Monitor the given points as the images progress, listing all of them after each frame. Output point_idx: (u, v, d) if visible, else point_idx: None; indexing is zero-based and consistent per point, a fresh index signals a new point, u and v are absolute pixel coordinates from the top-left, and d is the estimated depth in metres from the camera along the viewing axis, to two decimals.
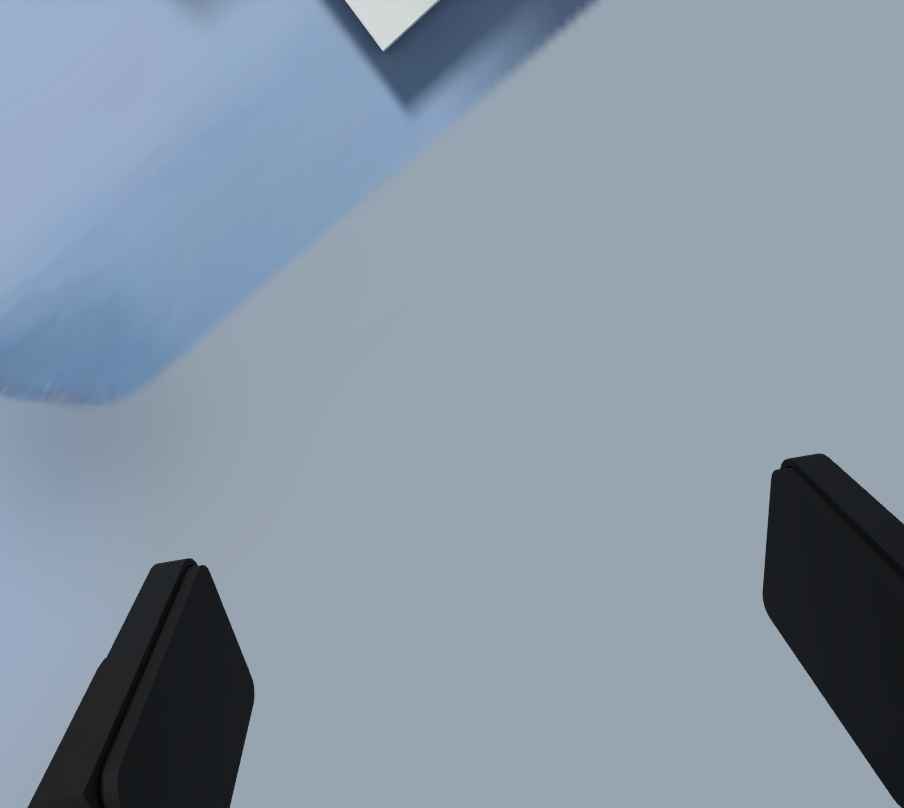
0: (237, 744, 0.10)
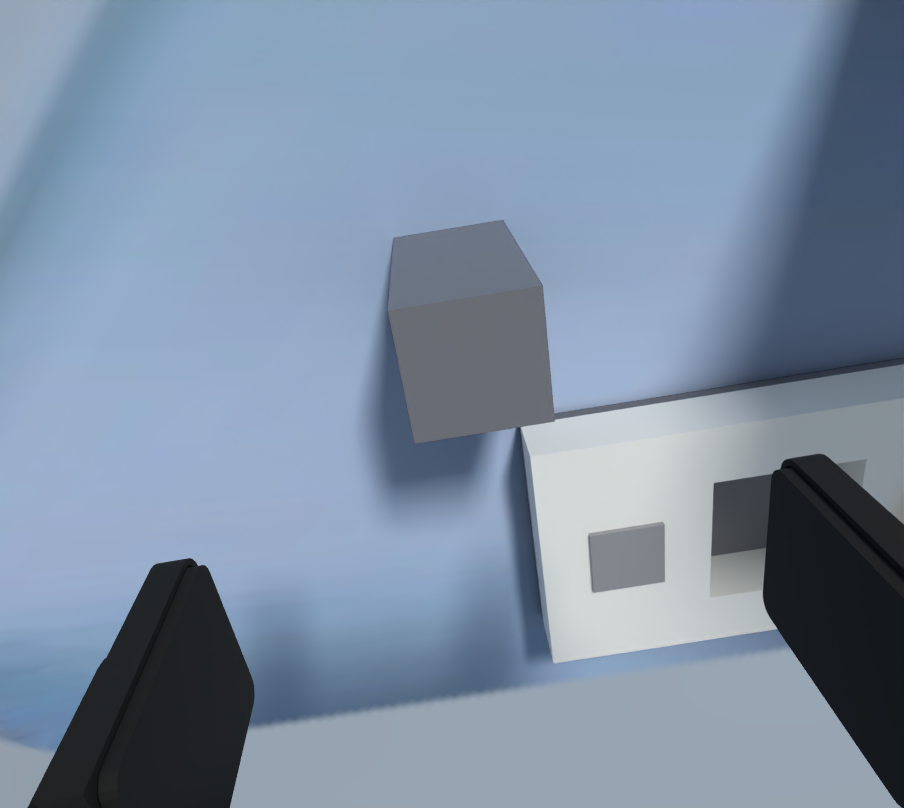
0: (237, 744, 0.10)
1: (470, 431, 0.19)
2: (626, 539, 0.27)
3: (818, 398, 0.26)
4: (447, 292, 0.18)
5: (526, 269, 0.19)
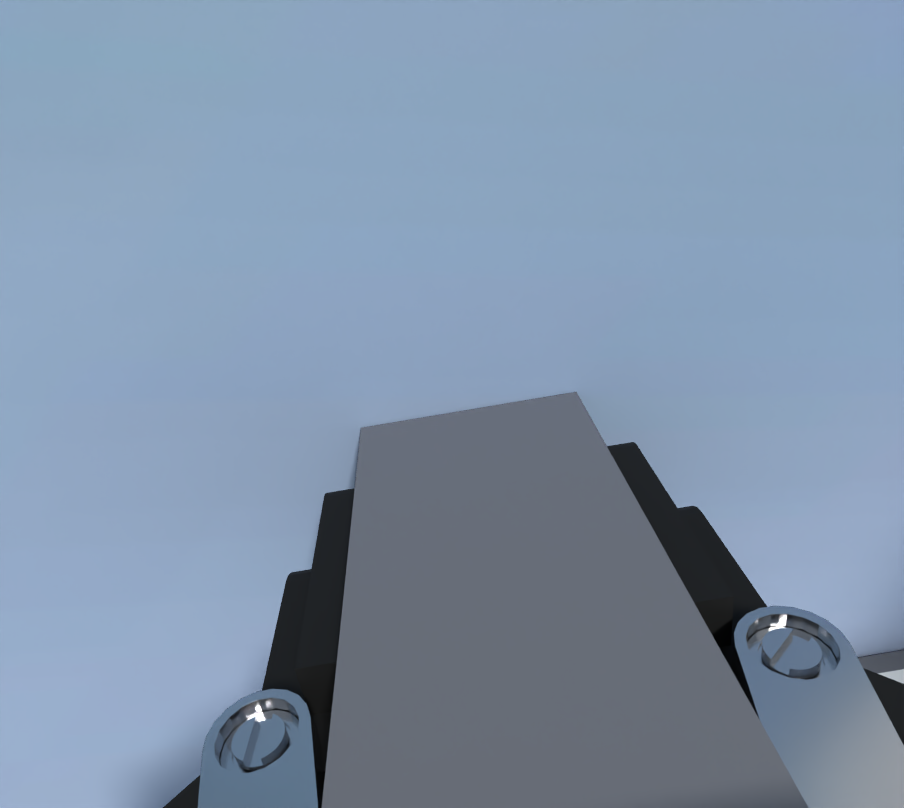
0: None
1: None
2: None
3: None
4: (499, 797, 0.06)
5: (715, 674, 0.07)
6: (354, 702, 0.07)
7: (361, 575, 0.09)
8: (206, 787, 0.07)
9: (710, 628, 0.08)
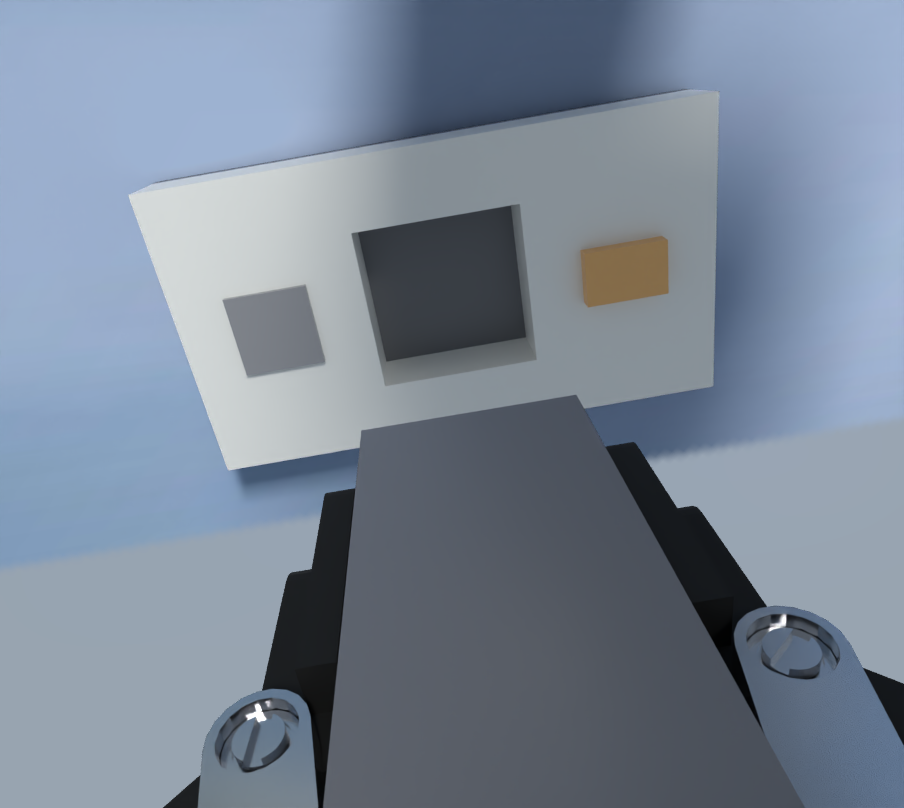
0: None
1: None
2: (265, 305, 0.24)
3: (461, 133, 0.23)
4: (499, 801, 0.06)
5: (714, 678, 0.07)
6: (355, 705, 0.07)
7: (362, 578, 0.09)
8: (206, 787, 0.07)
9: (710, 628, 0.08)
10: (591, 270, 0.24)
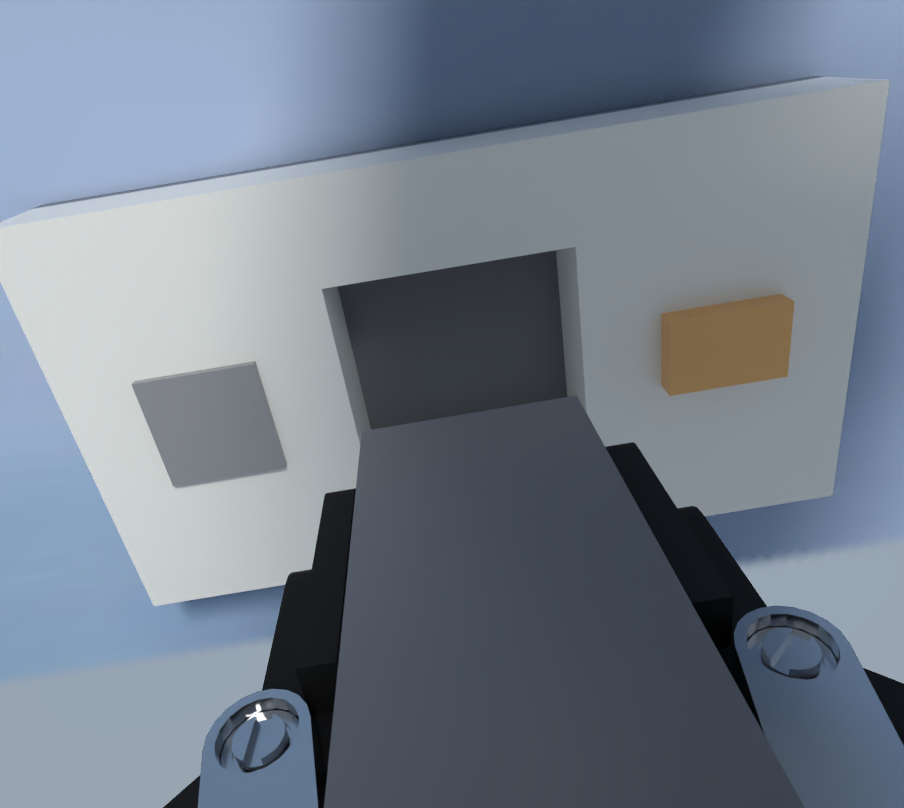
0: None
1: None
2: (196, 391, 0.16)
3: (489, 140, 0.15)
4: (500, 803, 0.06)
5: (715, 680, 0.07)
6: (356, 707, 0.07)
7: (362, 579, 0.09)
8: (206, 787, 0.07)
9: (710, 628, 0.08)
10: (678, 345, 0.16)
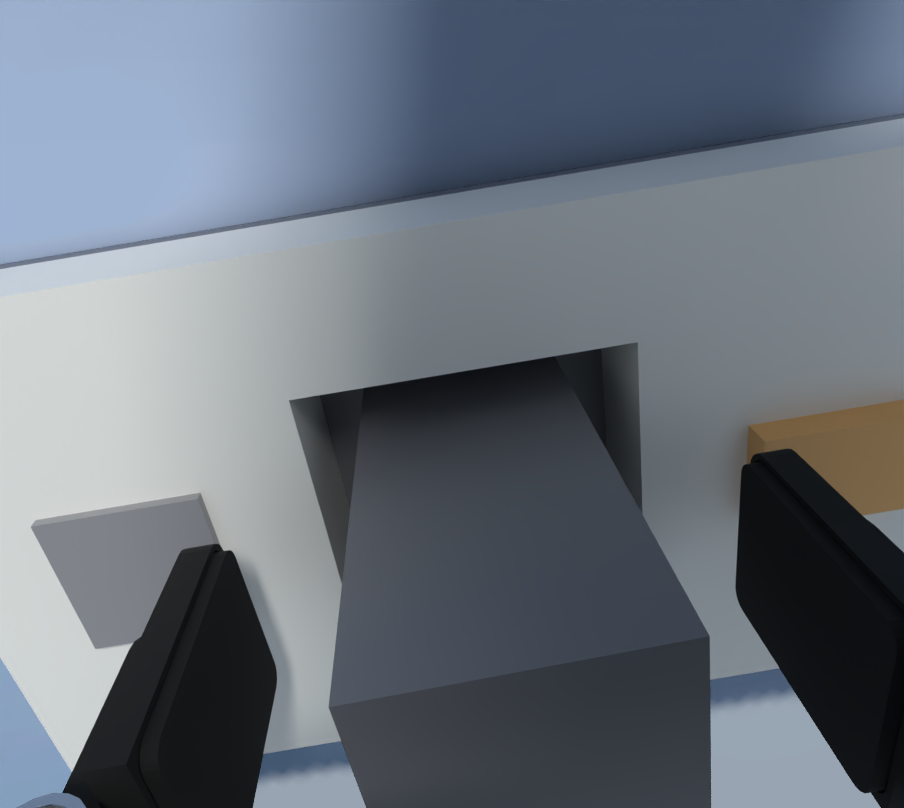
0: (262, 725, 0.11)
1: None
2: (120, 533, 0.12)
3: (519, 198, 0.11)
4: (471, 629, 0.08)
5: (643, 543, 0.08)
6: (360, 577, 0.09)
7: (365, 493, 0.10)
8: None
9: None
10: None
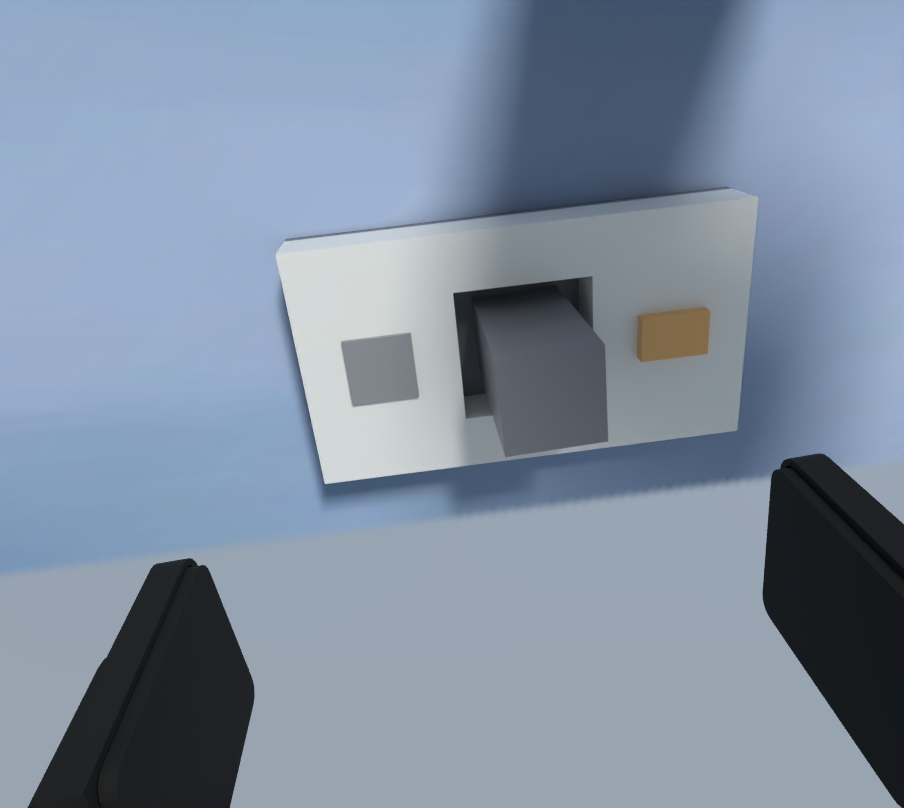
0: (237, 744, 0.10)
1: (546, 448, 0.26)
2: (376, 347, 0.29)
3: (548, 217, 0.28)
4: (534, 347, 0.25)
5: (588, 330, 0.26)
6: (493, 341, 0.26)
7: (486, 325, 0.28)
8: None
9: None
10: (646, 332, 0.29)
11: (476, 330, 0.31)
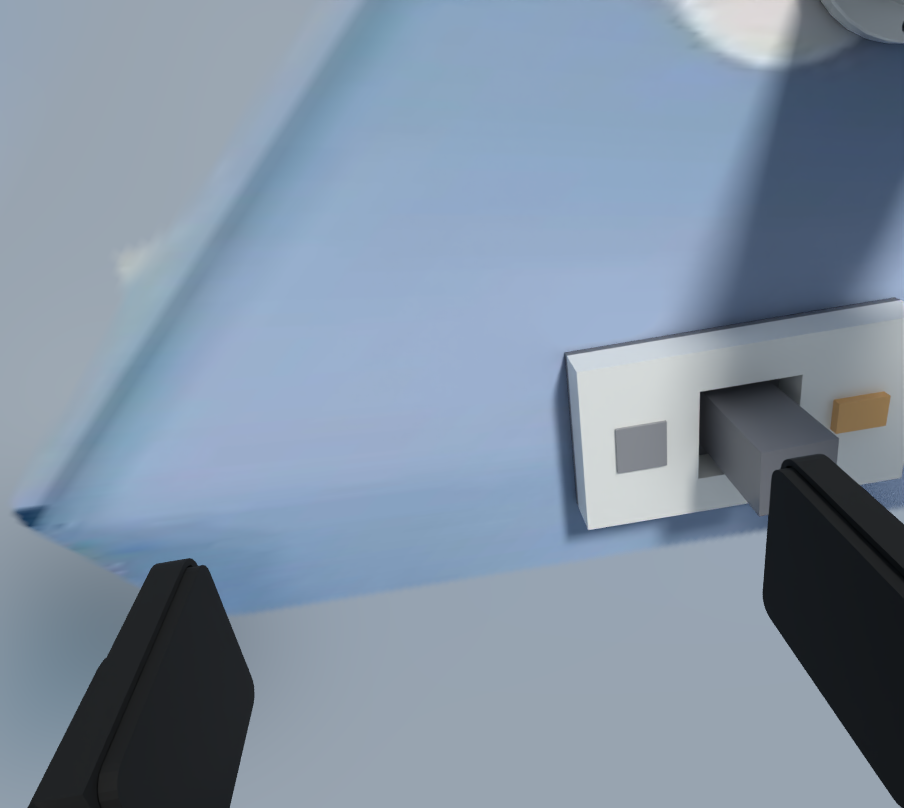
0: (237, 744, 0.10)
1: None
2: (640, 432, 0.39)
3: (769, 333, 0.38)
4: (784, 440, 0.35)
5: (818, 424, 0.36)
6: (748, 433, 0.36)
7: (731, 417, 0.38)
8: None
9: None
10: (842, 413, 0.39)
11: (704, 412, 0.41)
